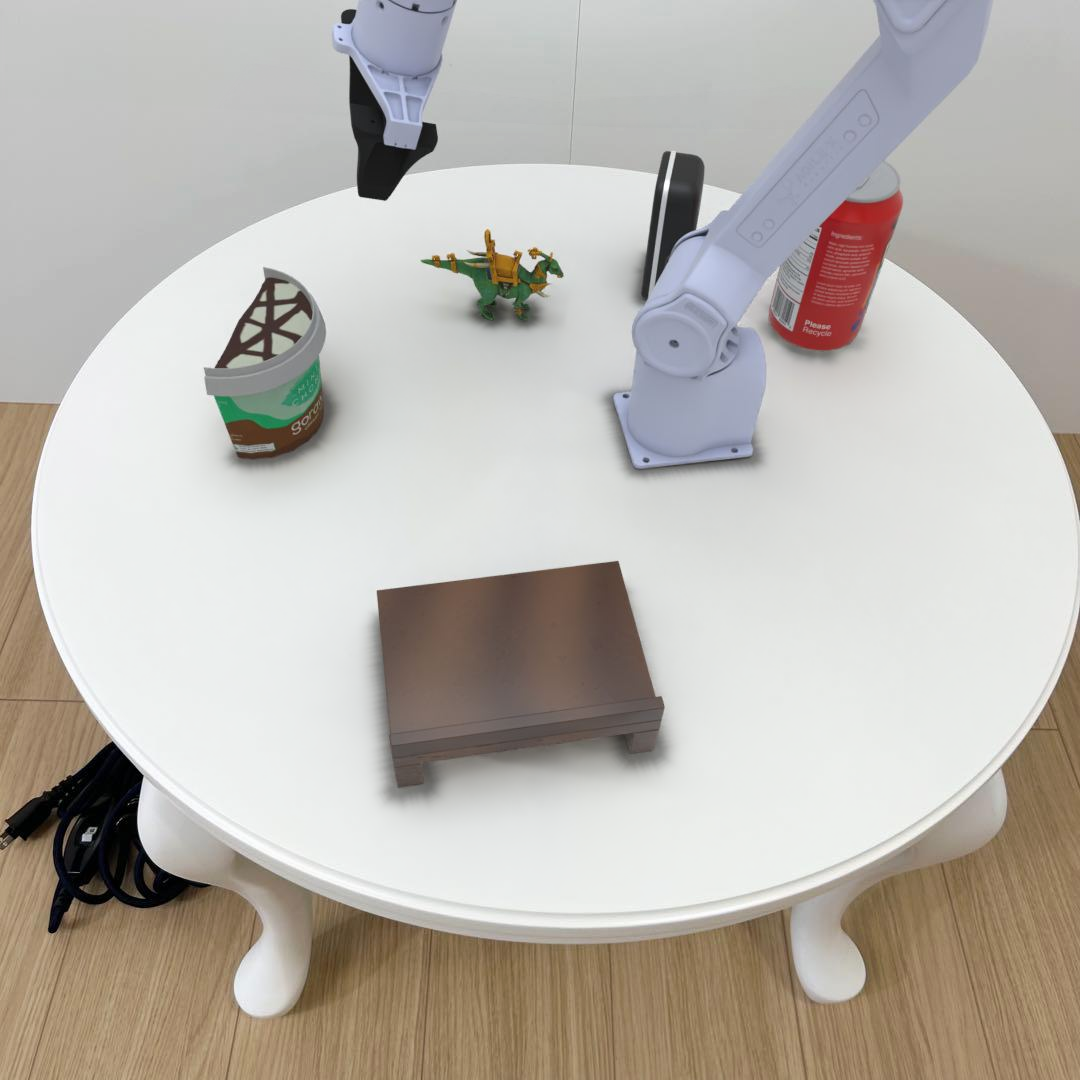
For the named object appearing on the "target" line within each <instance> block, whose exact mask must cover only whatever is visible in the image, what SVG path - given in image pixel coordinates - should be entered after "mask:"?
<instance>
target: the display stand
mask: <svg viewBox="0 0 1080 1080" xmlns="http://www.w3.org/2000/svg"><path fill="white" fill-rule="evenodd" d="M376 599H377V600H376V602H377V609H378V610H377V611H378V621H379V631H380V642H381V643H380V644H381V654H382V665H383V673H384V674H383V675H384V687H385V694H386V695H385V696H386V705H387V707H386V708H387V717H388V726H389V727H388V728H389V735H388V740H389V747H390V752H391V753H390V754H391V758H392V764H393V765H392V766H393V770H394V776H395V780H396V787H397V788H398V789H399V788H407V787H414V786H420V785H424V784H425V780H424V770H423V764H426V763H433V762H439V761H448V760H453V759H455V760H456V759H462V758H468V757H474V756H482V755H489V754H495V753H503V752H510V751H517V750H524V749H531V748H538V747H545V746H551V745H558V744H563V743H571V742H579V741H586V740H592V739H600V738H607V737H613V736H614V737H615V736H620V735H624V737H625V741H626V744H627V745H626V746H627V749H628V752H629V754H637V753H644V752H650V751H655V747H656V743H657V740H658V736H659V732H660V728H661V725H662V719H663V716H664V712H665V709H666V707H665V702H664V699H663V696H662V695H659V696H656V693H655V689H654V686H653V682H652V678H651V675H650V671H649V667H648V664H647V661H646V657H645V656H646V655H645V653H644V650H643V645H642V642H641V637H640V634H639V631H638V627H637V624H636V623H637V622H636V620H635V616H634V613H633V609H632V608H633V607H632V605H631V602H630V598H629V594H628V591H627V587H626V583H625V579H624V576H623V572H622V569H621V565H620V561H619V560H613V561H604V562H597V563H588V564H579V565H573V566H572V565H571V566H565V567H564V566H563V567H558V568H548V569H541V570H540V569H539V570H532V571H531V570H530V571H523V572H515V573H507V574H499V575H491V576H483V577H474V578H466V579H465V578H464V579H458V580H457V579H456V580H449V581H441V582H434V583H427V584H426V583H425V584H416V585H409V586H400V587H393V588H392V587H391V588H384V589H378V590H377V589H376Z"/></svg>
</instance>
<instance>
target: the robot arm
mask: <svg viewBox="0 0 1080 1080" xmlns="http://www.w3.org/2000/svg"><path fill="white" fill-rule="evenodd" d="M457 1H458V0H358V2H357V5H356V6H357V7H356V9H355V8H354V9H353V8H348V9H345V10H343V11H342V12H341V14H340V21H341V22H337V23H334V24H333V26H332V32H331V41H332V48H333V49H334V50H335V51H336V52H337V53H340V54H344V55H348V58H349V59H348V60H349V82H348V85H349V86H348V90H349V91H348V93H349V94H348V103H349V113H350V114H349V115H350V125H351V130H352V134H353V138H354V140H355V142H356V145H357V161H356V162H357V164H356V187H357V188H356V189H357V196H358V197H359V198H363V199H369V200H376V201H382V202H386V201H388V200H389V198H390V197H391V196H392V194H393V193H394V191H395V190H396V188H397V187H398V185H399V184H400V183H401V181H402V180H403V178H404V176H405V175H406V174H407V173H408V171H409V170H410V169H411V168H412V167H413V166H414V165H416V163H417V162H419V161H420V160H421V159H422V158H424V157H426V156H427V155H430V154H431V153H433V152H434V151H435V149H436V147H437V145H438V142H439V135H438V128H437V124H436V123H432V122H426V121H423V113H424V110H425V108H426V105H427V103H428V101H429V99H430V96H431V93H432V91H433V88H434V85H435V84H436V81H437V79H438V76H439V73H440V71H441V68H442V63H443V49H444V46H445V42H446V39H447V37H448V33H449V30H450V26H451V24H452V23H451V22H452V20H453V15H454V12H455V8H456V6H457ZM872 2H873V4H874V5H875V8H876V9H875V10H876V15H877V23H878V29H879V36H877V38H876V39H875V40H874V41H873V42H872V43H871V44H870V46H869V47H868V48H867V50H865V51H864V53H863V54H862V55H861V56H860V57H859V58H858V60H856V62H855V63H854V64H853V65H852V67H850V69H848V71H847V73H846V74H845V75H844V76H843V77H842V78H841V80H839V82H838V83H837V84H836V85H835V86H834V87H833V88H832V90H831V91H830V92H829V94H828V95H826V96H825V98H824V99H823V100H822V101H821V103H820V104H818V106H817V107H816V108H815V109H814V110H813V112H812V113H811V114H810V115H809V117H808V118H806V120H805V121H804V122H803V123H802V125H800V127H799V128H798V129H797V130H796V131H795V133H794V134H793V135H792V136H791V137H790V138H789V140H788V141H787V142H786V143H785V144H784V146H783V147H781V148H780V150H779V151H778V153H777V154H776V155H775V156H774V157H773V158H772V159H771V160H770V162H769V163H768V164H767V165H766V166H765V167H764V168H763V170H762V171H761V172H760V173H759V174H758V176H756V178H755V179H754V180H753V181H752V183H751V184H750V185H749V186H748V187H747V188H746V189H745V190H744V192H743V193H742V194H741V195H740V196H739V197H738V199H737V200H736V201H735V202H734V203H733V204H732V205H731V207H730V208H729V209H725V210H721V211H720V212H719V213H718V214H717V215H716V217H714V219H713V220H712V221H711V222H709V223H708V224H707V225H705V226H703V227H701V228H698V229H696V230H695V231H692V232H689V233H688V234H686V235H684V236H683V237H682V238H680V239H679V240H678V242H677V243H676V244H675V246H674V248H673V249H672V252H671V255H670V257H669V261H668V263H667V265H666V267H665V269H664V270H663V272H662V274H661V276H660V278H659V280H658V281H657V283H656V285H655V287H654V289H653V291H652V292H651V294H650V296H649V298H647V299H646V302H645V304H644V305H643V306H642V307H641V308H640V309H639V310H638V311H637V313H636V315H635V316H634V318H633V321H632V325H631V340H632V342H633V345H634V347H635V357H634V367H633V374H632V381H631V388H630V391H623V392H616V393H615V394H614V395H613V398H612V399H613V400H612V401H613V404H614V408H615V410H616V414H617V417H618V420H619V424H620V427H621V430H622V434H623V436H624V440H625V443H626V447H627V450H628V453H629V456H630V458H631V462H632V466H633V467H634V468H635V469H638V470H639V469H640V470H641V469H650V468H651V469H652V468H658V467H667V466H669V467H670V466H676V465H686V464H687V465H688V464H695V463H705V462H713V461H723V460H731V459H741V458H748V457H751V456H752V455H753V453H754V447H753V445H752V439H753V436H754V432H755V428H756V425H757V421H758V417H759V414H760V410H761V407H762V403H763V399H764V396H765V391H766V385H767V358H766V354H765V349H764V344H763V342H762V340H761V337H760V335H759V333H758V332H757V331H756V330H755V329H754V328H753V327H749V326H738V323H739V322H740V321H741V319H742V318H743V316H744V315H745V313H746V312H747V310H748V309H749V307H750V305H751V304H752V303H753V301H754V299H755V298H756V297H757V295H758V294H759V292H760V290H761V289H762V287H763V286H764V284H765V283H766V282H767V280H768V279H769V278H770V277H771V276H772V275H773V274H774V273H775V272H776V271H777V270H778V269H779V267H780V265H781V264H782V263H783V262H784V261H785V260H786V259H787V258H788V257H789V256H790V255H791V254H792V253H793V252H794V251H795V250H796V249H797V248H798V247H799V246H800V245H801V244H802V243H803V242H804V241H805V240H806V239H807V238H808V237H809V236H810V235H811V234H812V233H813V232H814V231H815V230H816V229H817V228H818V227H819V226H820V225H821V224H822V223H823V222H824V221H825V220H826V219H827V218H828V217H829V216H830V215H831V214H832V213H833V212H834V211H835V210H836V209H837V208H838V207H839V206H840V205H841V204H842V203H843V202H844V200H845V199H846V198H847V197H848V196H849V195H850V194H851V193H852V192H853V191H854V190H855V189H856V188H857V187H858V186H859V185H860V184H861V183H862V182H863V181H864V180H865V179H866V178H867V177H868V176H869V175H870V174H871V173H872V172H873V171H874V170H875V169H876V168H877V167H878V166H879V165H880V164H881V163H882V162H883V161H884V160H885V161H886V159H888V158H889V156H890V155H891V154H892V153H893V152H894V151H895V150H896V149H897V148H898V147H899V146H900V145H901V144H902V143H903V142H904V141H905V140H906V139H907V138H908V137H909V136H910V135H911V134H912V133H913V132H914V131H915V130H916V129H917V128H918V126H920V125H921V124H922V123H923V122H924V121H925V119H927V117H928V116H929V115H931V113H933V112H934V110H935V109H936V108H937V107H939V106H940V104H942V102H943V101H944V100H945V99H946V98H947V97H948V96H949V95H950V94H951V93H952V92H953V91H954V90H955V89H956V88H957V87H958V86H959V85H960V84H961V83H962V82H963V81H964V80H965V79H966V78H967V77H968V76H969V75H970V73H971V72H972V70H973V69H974V67H975V66H976V65H977V63H978V61H979V57H980V55H981V51H982V48H983V44H984V41H985V37H986V34H987V31H988V29H989V23H990V19H991V12H992V9H993V3H994V0H872Z"/></svg>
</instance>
